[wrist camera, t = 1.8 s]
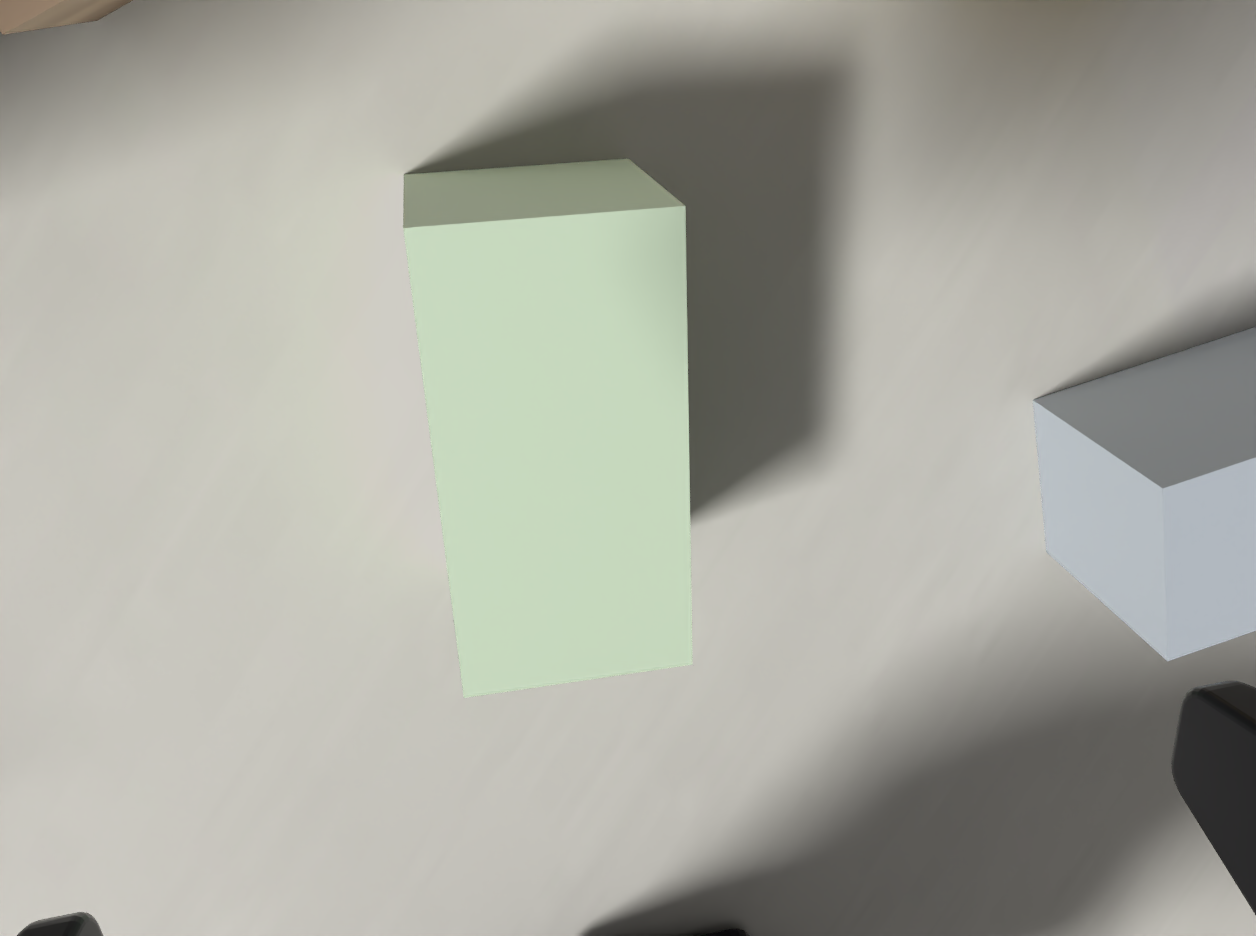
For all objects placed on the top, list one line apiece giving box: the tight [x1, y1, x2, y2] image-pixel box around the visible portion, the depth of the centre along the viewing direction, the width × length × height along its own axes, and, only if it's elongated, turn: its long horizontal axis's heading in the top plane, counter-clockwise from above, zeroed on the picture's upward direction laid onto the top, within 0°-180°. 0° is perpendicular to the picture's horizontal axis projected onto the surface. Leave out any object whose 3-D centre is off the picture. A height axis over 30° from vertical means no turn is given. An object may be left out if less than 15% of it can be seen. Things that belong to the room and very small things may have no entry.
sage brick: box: [403, 159, 692, 698], centre depth 16 cm, size 7×4×4 cm, turn 2°
